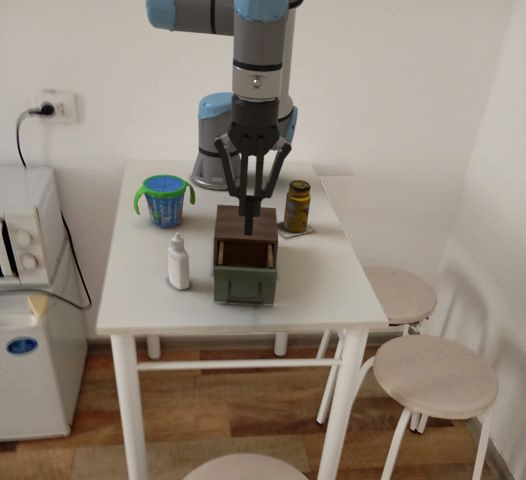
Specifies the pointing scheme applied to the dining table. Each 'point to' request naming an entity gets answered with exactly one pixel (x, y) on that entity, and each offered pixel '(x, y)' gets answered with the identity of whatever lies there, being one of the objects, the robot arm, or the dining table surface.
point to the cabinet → (233, 229)
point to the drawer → (245, 273)
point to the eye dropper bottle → (178, 263)
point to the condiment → (296, 209)
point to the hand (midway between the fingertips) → (248, 231)
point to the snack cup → (164, 198)
